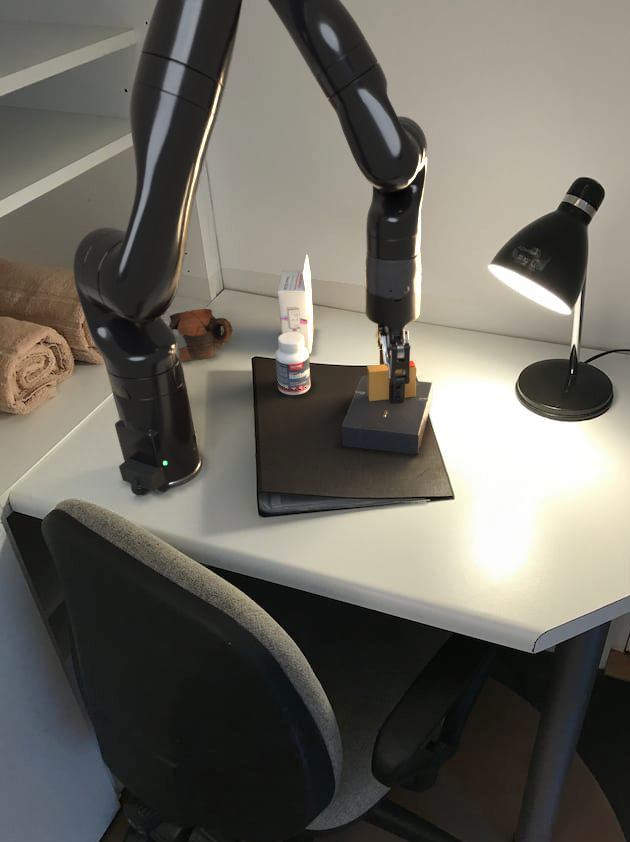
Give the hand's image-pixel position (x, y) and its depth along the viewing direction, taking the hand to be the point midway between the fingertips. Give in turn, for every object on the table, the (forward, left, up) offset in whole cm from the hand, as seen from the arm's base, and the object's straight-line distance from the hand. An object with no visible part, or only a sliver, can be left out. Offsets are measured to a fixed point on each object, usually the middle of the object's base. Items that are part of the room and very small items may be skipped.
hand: (391, 386), depth 111 cm
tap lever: (0, 0, -2) cm, 2 cm away
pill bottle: (+1, +18, -6) cm, 18 cm away
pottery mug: (+5, +39, -6) cm, 39 cm away
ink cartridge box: (+14, +25, -6) cm, 29 cm away
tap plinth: (-2, 0, -5) cm, 6 cm away
